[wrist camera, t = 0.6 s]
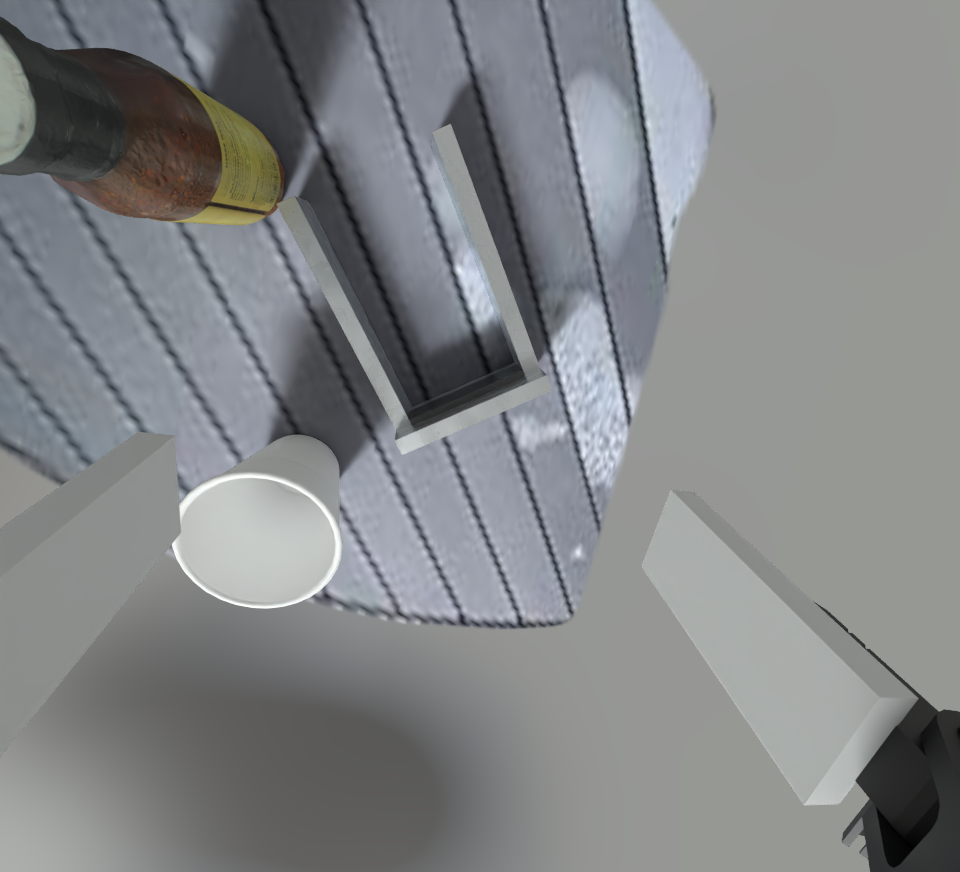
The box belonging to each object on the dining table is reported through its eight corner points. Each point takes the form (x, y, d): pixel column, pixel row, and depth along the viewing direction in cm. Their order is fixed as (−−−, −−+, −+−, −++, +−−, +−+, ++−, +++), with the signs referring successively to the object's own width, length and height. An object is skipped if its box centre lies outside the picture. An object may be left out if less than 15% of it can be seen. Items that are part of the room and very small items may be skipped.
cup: (245, 519, 39) (184, 612, 29) (230, 408, 36) (154, 471, 26) (364, 518, 41) (345, 607, 31) (361, 412, 37) (338, 472, 27)
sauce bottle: (234, 95, 29) (-97, -180, 10) (309, 185, 31) (145, 92, 13) (162, 167, 30) (-260, 31, 11) (239, 250, 32) (-7, 250, 14)
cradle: (293, 209, 31) (265, 200, 26) (447, 138, 31) (452, 114, 25) (405, 425, 38) (402, 454, 32) (533, 369, 37) (552, 390, 32)
